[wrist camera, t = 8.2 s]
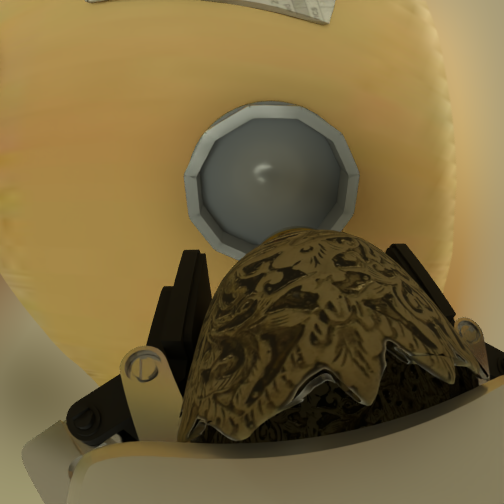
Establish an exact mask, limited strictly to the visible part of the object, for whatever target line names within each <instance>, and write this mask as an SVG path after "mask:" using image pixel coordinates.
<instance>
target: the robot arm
mask: <svg viewBox="0 0 504 504" xmlns="http://www.w3.org/2000/svg"><path fill="white" fill-rule="evenodd" d="M386 254H387V255H388V256H389V257H391V258H392V259H393V260H394V261H395V262H396V263H398V264H399V265H400V266H401V267H402V268H403V269H404V270H405V271H406V272H407V273H408V274H409V275H410V276H411V278H412V279H413V280H414V281H415V282H416V283H417V284H418V285H419V286H420V287H421V289H422V290H423V291H424V292H425V293H426V294H427V295H428V297H429V298H430V299H431V300H432V301H433V302H434V304H435V305H436V306H437V307H438V308H439V310H440V311H441V312H442V313H443V315H444V316H445V317H446V318H447V320H448V321H449V322H450V323H451V325H452V326H453V327H454V329H455V330H456V331H457V333H458V334H459V335H460V337H461V338H462V339H463V341H464V342H465V343H466V345H467V346H468V348H469V349H470V350H471V352H472V353H473V354H474V356H475V357H476V359H477V360H478V361H479V363H480V364H481V365H482V367H483V368H484V369H485V370H486V372H487V373H488V375H489V378H490V380H489V381H486V380H484V379H481V380H480V378H478V381H479V386H478V387H476V388H474V389H472V390H470V391H468V390H467V389H466V387H465V385H464V384H463V382H462V380H461V379H460V377H459V375H455V382H454V384H449V397H450V398H449V399H448V400H447V401H445V402H442V403H440V404H437V405H435V406H432V407H430V408H427V409H423V407H422V406H421V408H420V409H419V411H418V412H416V413H413V414H410V415H407V416H404V417H401V418H397V419H394V420H391V421H387V422H384V423H380V424H376V425H373V426H369V427H364V428H360V429H356V430H351V431H347V432H342V433H336V434H331V435H325V436H319V437H312V438H305V439H297V440H288V441H277V442H263V443H237V444H208V443H207V441H206V439H205V437H204V436H203V438H202V437H201V435H200V436H199V437H196V438H194V439H192V440H190V441H188V442H187V443H183V442H177V433H178V429H179V426H180V422H181V415H182V411H181V407H182V403H183V396H184V392H185V388H186V384H187V380H188V375H189V371H190V367H191V364H192V360H193V356H194V352H195V349H196V345H197V341H198V338H199V334H200V331H201V328H202V325H203V322H204V319H205V316H206V313H207V310H208V308H209V305H210V303H211V300H212V296H211V289H210V283H209V276H208V268H207V261H206V255H205V253H204V254H200V250H184V251H183V254H182V257H181V261H180V264H179V268H178V271H177V275H176V279H175V282H174V286H164V287H163V289H162V291H161V294H160V297H159V301H158V304H157V308H156V311H155V315H154V318H153V322H152V326H151V329H150V333H149V337H148V341H147V344H146V346H140V347H136V348H134V349H132V350H130V351H129V352H128V353H127V354H126V355H125V356H124V357H123V359H122V361H121V364H120V374H119V375H118V376H116V377H115V378H113V379H111V380H110V381H108V382H107V383H105V384H104V385H102V386H101V387H99V388H98V389H96V390H94V391H93V392H91V393H90V394H88V395H87V396H85V397H83V398H82V399H80V400H79V401H77V402H76V403H74V404H73V405H72V406H71V408H70V409H69V411H68V414H67V417H66V420H65V421H64V422H62V421H61V420H59V421H58V422H56V423H55V424H53V425H52V426H50V427H49V428H48V429H46V430H45V431H43V432H42V433H41V434H39V435H37V436H36V437H35V438H33V439H32V440H30V441H29V442H27V443H26V444H25V446H24V447H23V450H22V460H23V464H24V466H25V468H26V470H27V472H28V474H29V476H30V478H31V480H32V482H33V484H34V485H35V487H36V489H37V491H38V493H39V494H40V496H41V498H42V500H43V501H44V503H45V504H504V352H502V351H500V350H498V349H497V348H494V347H493V346H491V345H489V344H487V343H485V342H484V337H483V333H482V330H481V328H480V327H479V325H478V324H477V323H476V322H474V321H473V320H471V319H469V318H464V317H463V318H458V319H457V320H456V321H454V319H453V318H454V316H455V315H456V313H455V312H454V310H453V308H452V307H451V305H450V304H449V302H448V301H447V299H446V298H445V296H444V295H443V293H442V292H441V291H440V289H439V288H438V286H437V285H436V283H435V282H434V281H433V279H432V278H431V276H430V275H429V274H428V272H427V271H426V270H425V268H424V267H423V266H422V264H421V263H420V262H419V260H418V259H417V258H416V256H415V255H414V254H413V253H412V251H411V250H410V249H409V248H408V246H407V245H406V244H391V246H390V248H387V250H386ZM478 374H479V375H480V373H478ZM485 376H486V375H485ZM481 377H482V376H481ZM180 412H181V413H180Z"/></svg>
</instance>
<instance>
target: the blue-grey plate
mask: <svg viewBox="0 0 504 504" xmlns="http://www.w3.org/2000/svg"><path fill="white" fill-rule="evenodd" d="M359 176H360V175H359V171H358V168H357V166H356V163H355V161H354V159H353V156H352V154H351V152H350V149H349V147H348V145H347V143H346V141H345V138H344V136H343V134H341V132H339V131H338V130H337V129H335V128H334V127H332V126H331V125H329V124H328V123H327V122H326V121H325V120H324V119H322V118H321V117H320V116H318V115H317V114H315V113H313V112H311V111H310V110H308V109H305V108H303V107H301V106H297V105H294V104H290V103H286V102H279V101H261V102H255V103H250V104H246V105H243V106H240V107H238V108H235V109H233V110H232V111H230V112H228V113H226V114H225V115H223V116H222V117H220V118H219V119H217V120H216V121H215V122H214V123H213V124H212V125H211V126H210V127H209V128H208V129H207V131H206V132H205V133H204V134H203V136H202V137H201V138H200V140H199V142H198V143H197V145H196V147H195V149H194V151H193V154H192V156H191V159H190V163H189V165H188V167H187V169H186V171H185V173H184V182H185V191H186V199H187V207H188V214H189V217H190V220H191V221H192V223H193V224H194V225H195V226H196V228H197V229H198V230H199V231H200V233H201V234H202V235H203V236H204V238H205V239H206V240H207V241H208V243H209V244H210V245H211V246H212V248H213V249H214V250H215V251H218V252H220V253H222V254H225V255H227V256H229V257H232V258H234V259H236V260H240V259H241V258H242V257H244V256H245V255H246V254H247V253H249V252H250V251H252V250H253V249H254V248H256V247H258V246H259V245H260V244H261V242H262V241H263V240H264V239H266V238H267V237H268V236H269V235H271V234H272V233H274V232H276V231H278V230H280V229H283V228H286V227H291V226H307V227H311V228H315V229H317V230H321V229H324V230H334V231H339V232H341V231H342V229H343V228H344V227H345V225H346V224H347V223H348V221H349V220H350V219H351V217H352V216H353V214H354V209H355V203H356V197H357V190H358V183H359Z"/></svg>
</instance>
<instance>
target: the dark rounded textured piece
mask: <svg viewBox="0 0 504 504" xmlns="http://www.w3.org/2000/svg"><path fill="white" fill-rule="evenodd" d="M478 373H480V375H479V374H478ZM455 375H459V377H460V379H461V380H462V382H463V384H464V385H465V387H466V389H467V390H468V391H470V390H472V389H474V388H476V387H478V386H479V381H478V378H480V380H481V379H484V380H486V381H489V380H490V378H489V375H488V373H487V372H486V370H485V369H484V368H483V367H482V365H481V364H480V363H479V361H478V360H477V359H476V357H475V356H474V354H473V353H472V352H471V350H470V349H469V348H468V346H467V345H466V343H465V342H464V341H463V339H462V338H461V337H460V335H459V334H458V333H457V331H456V330H455V329H454V327H453V326H452V325H451V323H450V322H449V321H448V320H447V318H446V317H445V316H444V315H443V313H442V312H441V311H440V310H439V308H438V307H437V306H436V305H435V304H434V302H433V301H432V300H431V299H430V298H429V297H428V295H427V294H426V293H425V292H424V291H423V290H422V289H421V287H420V286H419V285H418V284H417V283H416V282H415V281H414V280H413V279H412V278H411V276H410V275H409V274H408V273H407V272H406V271H405V270H404V269H403V268H402V267H401V266H400V265H399V264H398V263H396V262H395V261H394V260H393V259H392V258H391V257H389V256H388V255H387V254H386V253H384V252H383V251H382V250H380V249H379V248H377V247H376V246H374V245H373V244H371V243H369V242H367V241H365V240H363V239H361V238H359V237H356V236H353V235H350V234H347V233H344V232H339V231H334V230H324V229H321V230H317V229H315V228H311V227H307V226H291V227H286V228H283V229H280V230H278V231H276V232H274V233H272V234H271V235H269V236H268V237H267V238H266V239H264V240H263V241H262V242H261V244H260V245H259V246H258V247H256V248H254V249H253V250H252V251H250V252H249V253H247V254H246V255H245V256H244V257H242V258H241V259H240V260H239V261H238V262H237V263H236V264H235V265H234V266H233V267H232V269H231V270H230V271H229V272H228V273H227V274H226V276H225V277H224V279H223V280H222V281H221V283H220V285H219V287H218V289H217V291H216V292H215V294H214V296H213V298H212V300H211V303H210V305H209V308H208V310H207V313H206V316H205V319H204V322H203V325H202V328H201V331H200V334H199V338H198V341H197V345H196V349H195V352H194V356H193V360H192V364H191V367H190V371H189V375H188V380H187V384H186V388H185V392H184V396H183V403H182V407H181V411H182V415H181V422H180V426H179V429H178V433H177V442H183V443H187V442H188V441H190V440H192V439H194V438H196V437H199V436H200V435H201V437H202V438H203V436H204V437H205V439H206V441H207V443H208V444H237V443H263V442H277V441H288V440H297V439H305V438H312V437H319V436H325V435H331V434H336V433H342V432H347V431H351V430H356V429H360V428H364V427H369V426H373V425H376V424H380V423H384V422H387V421H391V420H394V419H397V418H401V417H404V416H407V415H410V414H413V413H416V412H418V411H419V409H420V408H421V406H422V407H423V409H427V408H430V407H432V406H435V405H437V404H440V403H442V402H445V401H447V400H448V399H449V398H450V397H449V384H454V382H455ZM485 375H486V376H485ZM481 376H482V377H481ZM180 413H181V412H180Z"/></svg>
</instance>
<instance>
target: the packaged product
mask: <svg viewBox="0 0 504 504" xmlns="http://www.w3.org/2000/svg"><path fill="white" fill-rule="evenodd" d="M100 1H106V0H85V2H88V3H93V2H100ZM203 1H212V2H220V3H228V4H235V5H240V6H246V7H252V8H258V9H263V10H268V11H272V12H277V13H281V14H285V15H289V16H293V17H296V18H300V19H304V20H307V21H311V22H314V23H318V24H322V25H324V24H329V22H330V18H331V15H332V12H333V9H334V4H335V0H203Z"/></svg>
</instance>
